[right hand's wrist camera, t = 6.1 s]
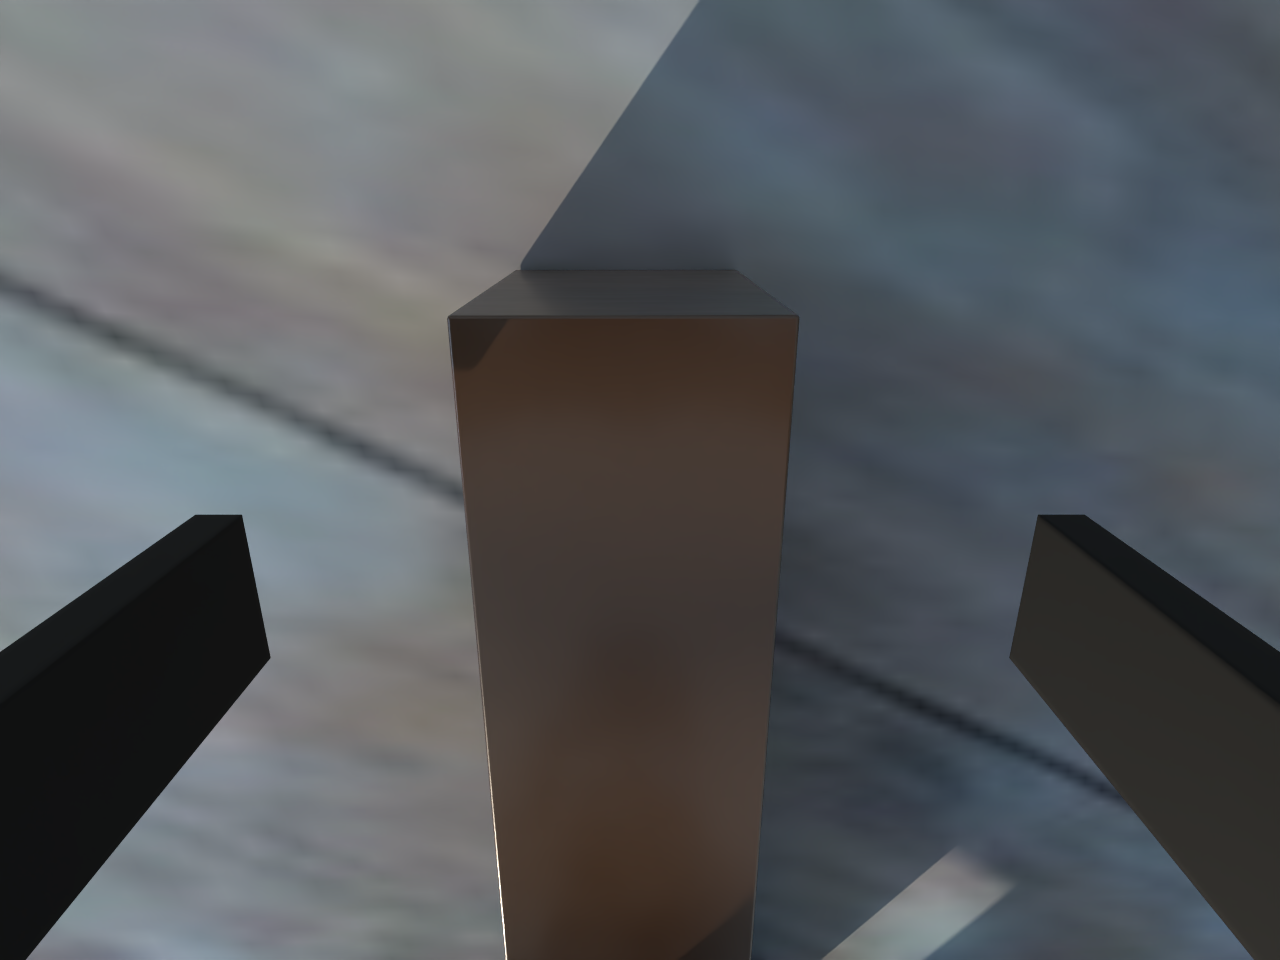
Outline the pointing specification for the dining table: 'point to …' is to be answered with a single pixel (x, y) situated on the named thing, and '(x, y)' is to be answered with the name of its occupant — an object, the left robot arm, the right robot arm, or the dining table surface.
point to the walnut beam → (625, 598)
